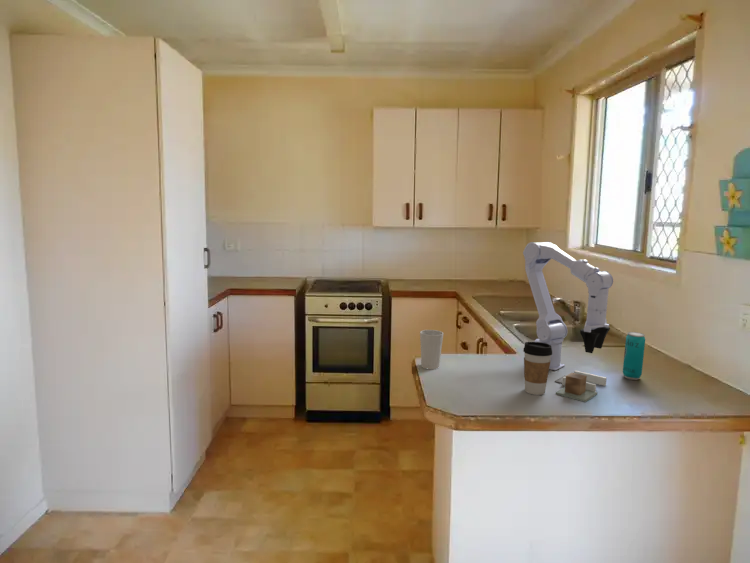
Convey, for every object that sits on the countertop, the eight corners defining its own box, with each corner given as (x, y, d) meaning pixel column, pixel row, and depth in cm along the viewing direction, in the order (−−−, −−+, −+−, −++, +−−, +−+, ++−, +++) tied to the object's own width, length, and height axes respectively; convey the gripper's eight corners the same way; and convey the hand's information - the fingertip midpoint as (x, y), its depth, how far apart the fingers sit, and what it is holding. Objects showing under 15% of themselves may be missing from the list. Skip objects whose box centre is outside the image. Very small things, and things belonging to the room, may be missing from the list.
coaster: (555, 394, 162) (555, 392, 162) (567, 386, 169) (568, 385, 169) (585, 402, 156) (585, 400, 156) (597, 394, 163) (597, 392, 163)
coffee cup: (514, 388, 166) (518, 341, 164) (537, 385, 169) (541, 339, 167) (531, 397, 159) (535, 348, 156) (555, 394, 162) (559, 346, 159)
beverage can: (624, 373, 183) (629, 330, 181) (643, 377, 180) (647, 333, 177) (620, 377, 179) (624, 333, 177) (638, 381, 175) (643, 336, 173)
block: (564, 391, 163) (565, 375, 162) (570, 388, 166) (571, 372, 165) (579, 395, 160) (580, 379, 159) (585, 391, 163) (586, 375, 162)
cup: (446, 368, 184) (447, 334, 182) (425, 371, 181) (426, 336, 179) (435, 362, 191) (436, 329, 190) (414, 364, 188) (416, 330, 187)
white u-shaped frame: (553, 382, 173) (553, 375, 172) (566, 375, 180) (566, 368, 180) (594, 392, 164) (595, 385, 164) (605, 385, 171) (606, 377, 171)
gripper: (601, 314, 165) (597, 357, 167) (617, 307, 176) (613, 348, 178) (578, 310, 170) (575, 352, 172) (595, 304, 180) (592, 344, 182)
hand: (593, 350), depth 175 cm, fingers open, 7 cm apart
